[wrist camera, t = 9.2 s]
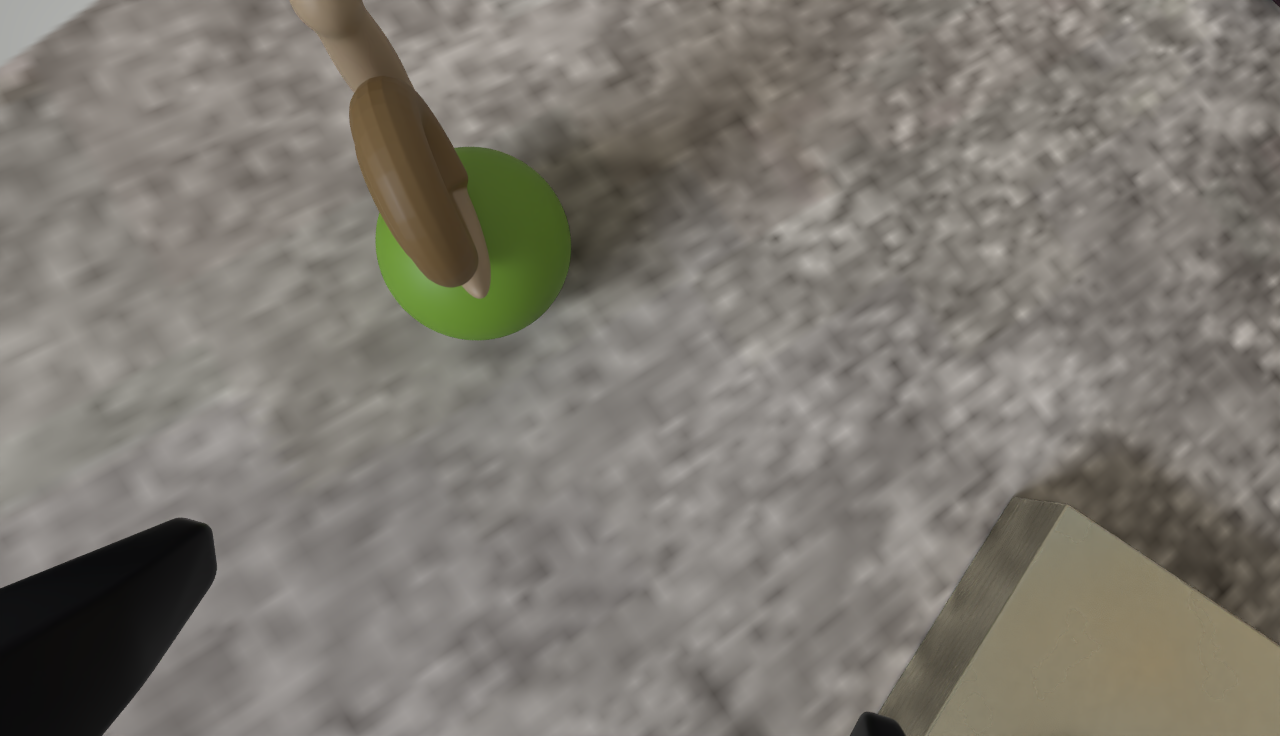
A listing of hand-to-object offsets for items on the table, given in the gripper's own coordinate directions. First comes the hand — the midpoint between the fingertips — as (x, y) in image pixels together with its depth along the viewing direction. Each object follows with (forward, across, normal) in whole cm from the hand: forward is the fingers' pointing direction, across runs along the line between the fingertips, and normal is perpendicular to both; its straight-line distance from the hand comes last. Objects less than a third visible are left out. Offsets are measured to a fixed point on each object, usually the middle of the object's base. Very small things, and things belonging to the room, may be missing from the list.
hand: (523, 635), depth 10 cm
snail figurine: (+15, +6, +1) cm, 16 cm away
